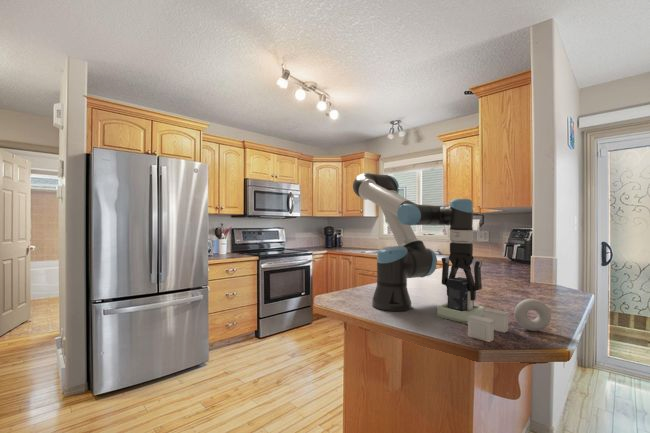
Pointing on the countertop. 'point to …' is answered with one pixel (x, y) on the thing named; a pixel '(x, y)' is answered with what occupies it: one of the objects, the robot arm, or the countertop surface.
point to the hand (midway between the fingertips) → (460, 307)
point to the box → (458, 293)
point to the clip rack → (487, 324)
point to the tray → (459, 313)
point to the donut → (537, 323)
